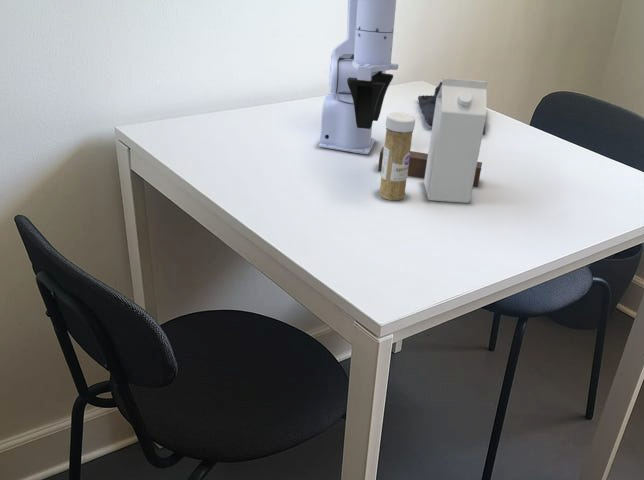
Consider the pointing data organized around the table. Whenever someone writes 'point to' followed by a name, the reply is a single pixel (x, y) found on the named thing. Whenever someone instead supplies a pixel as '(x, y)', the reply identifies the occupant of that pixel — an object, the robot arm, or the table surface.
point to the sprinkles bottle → (396, 155)
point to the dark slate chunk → (430, 106)
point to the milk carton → (455, 140)
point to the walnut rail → (419, 166)
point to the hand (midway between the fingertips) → (367, 124)
